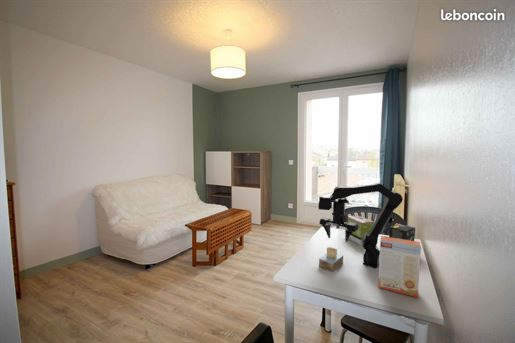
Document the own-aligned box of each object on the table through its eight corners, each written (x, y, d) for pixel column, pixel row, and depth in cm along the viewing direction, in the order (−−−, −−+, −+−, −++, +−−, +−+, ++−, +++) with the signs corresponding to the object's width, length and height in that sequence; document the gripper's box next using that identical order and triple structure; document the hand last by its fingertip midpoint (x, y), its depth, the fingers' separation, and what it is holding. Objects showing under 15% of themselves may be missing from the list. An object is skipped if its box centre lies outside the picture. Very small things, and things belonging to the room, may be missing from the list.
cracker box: (416, 290, 97) (420, 241, 96) (418, 298, 92) (421, 246, 90) (378, 281, 104) (381, 234, 103) (377, 287, 99) (380, 239, 98)
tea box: (344, 237, 158) (345, 215, 157) (356, 236, 161) (357, 214, 160) (360, 246, 144) (361, 222, 143) (373, 244, 147) (374, 220, 146)
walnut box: (342, 263, 121) (343, 256, 121) (332, 271, 112) (332, 264, 112) (330, 258, 126) (330, 252, 125) (319, 266, 117) (319, 259, 117)
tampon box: (397, 246, 143) (398, 223, 142) (414, 252, 136) (415, 227, 134) (387, 250, 137) (389, 226, 136) (404, 256, 130) (406, 230, 129)
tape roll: (338, 256, 119) (338, 248, 118) (333, 260, 115) (334, 251, 115) (329, 254, 122) (329, 246, 122) (324, 256, 118) (325, 248, 118)
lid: (343, 256, 121) (343, 255, 121) (332, 264, 112) (332, 263, 112) (330, 252, 125) (330, 251, 125) (319, 259, 117) (319, 258, 117)
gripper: (362, 210, 123) (361, 240, 124) (328, 205, 135) (327, 232, 136) (355, 215, 114) (353, 246, 115) (319, 208, 126) (318, 237, 128)
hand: (337, 240), depth 124 cm, fingers open, 9 cm apart
